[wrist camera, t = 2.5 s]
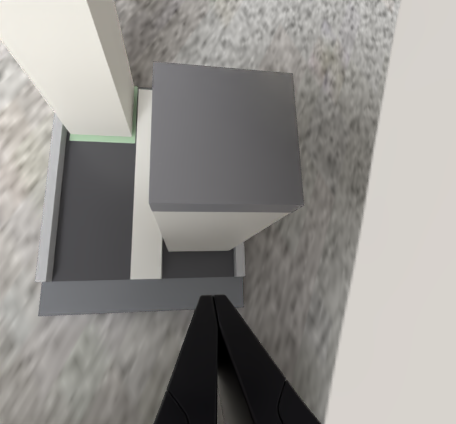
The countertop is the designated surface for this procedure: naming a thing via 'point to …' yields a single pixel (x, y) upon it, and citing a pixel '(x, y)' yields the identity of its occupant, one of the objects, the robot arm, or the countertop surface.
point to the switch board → (117, 232)
